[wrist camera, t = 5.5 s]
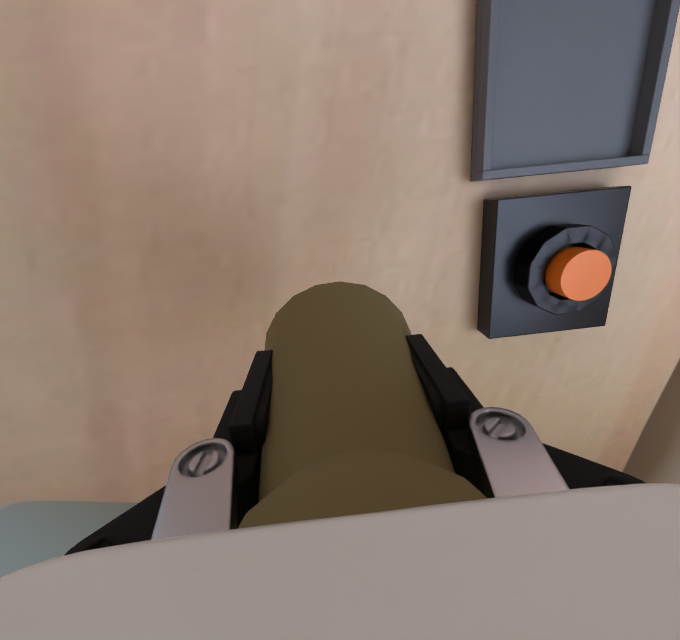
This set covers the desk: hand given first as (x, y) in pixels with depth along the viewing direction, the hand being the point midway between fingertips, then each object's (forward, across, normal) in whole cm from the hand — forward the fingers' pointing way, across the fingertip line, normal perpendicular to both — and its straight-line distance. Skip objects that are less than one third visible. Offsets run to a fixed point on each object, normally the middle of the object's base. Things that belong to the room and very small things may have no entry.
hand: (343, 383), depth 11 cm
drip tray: (+17, -18, -14) cm, 28 cm away
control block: (+17, -18, +1) cm, 24 cm away
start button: (+13, -18, +1) cm, 22 cm away
